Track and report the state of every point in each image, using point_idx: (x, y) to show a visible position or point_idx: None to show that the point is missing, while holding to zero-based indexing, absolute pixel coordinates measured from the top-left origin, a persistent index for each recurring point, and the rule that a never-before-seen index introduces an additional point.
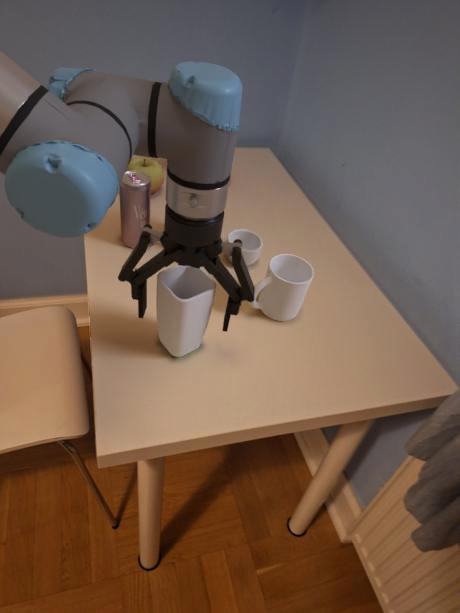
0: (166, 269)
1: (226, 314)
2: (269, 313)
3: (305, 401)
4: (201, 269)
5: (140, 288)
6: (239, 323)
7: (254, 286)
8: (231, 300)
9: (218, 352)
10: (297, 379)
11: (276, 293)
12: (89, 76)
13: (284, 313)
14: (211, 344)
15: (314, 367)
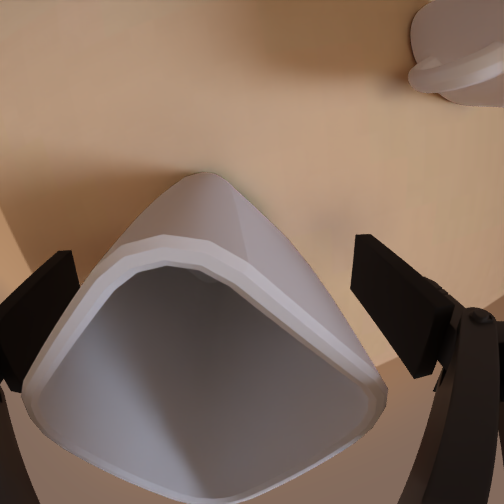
0: (33, 378)
1: (386, 335)
2: (444, 92)
3: (464, 301)
4: (283, 317)
5: (17, 390)
6: (367, 117)
7: (455, 68)
8: (430, 360)
9: (317, 232)
10: (466, 261)
11: (501, 90)
12: None
13: (481, 106)
14: (296, 210)
15: (495, 225)
